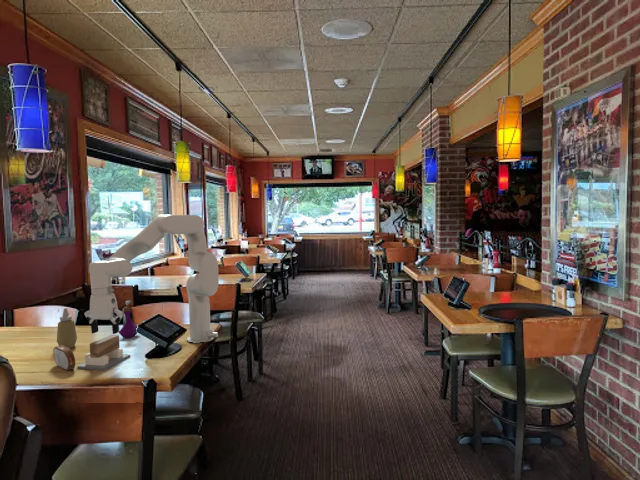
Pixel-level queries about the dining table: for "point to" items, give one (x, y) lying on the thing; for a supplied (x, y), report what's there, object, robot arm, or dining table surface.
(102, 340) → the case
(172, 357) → the dining table surface
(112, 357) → the stand
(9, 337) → the dining table surface
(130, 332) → the perfume bottle
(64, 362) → the tin
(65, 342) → the squeeze bottle
